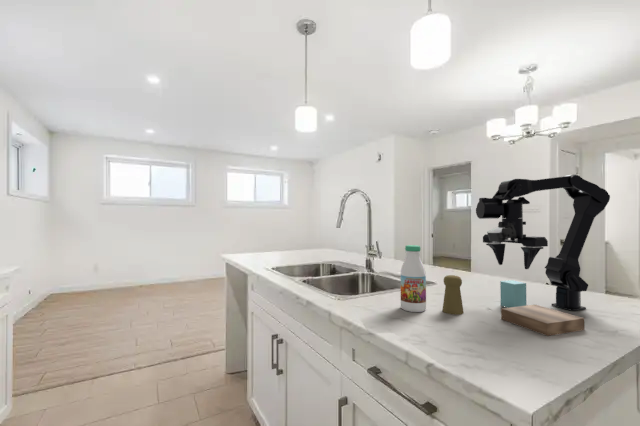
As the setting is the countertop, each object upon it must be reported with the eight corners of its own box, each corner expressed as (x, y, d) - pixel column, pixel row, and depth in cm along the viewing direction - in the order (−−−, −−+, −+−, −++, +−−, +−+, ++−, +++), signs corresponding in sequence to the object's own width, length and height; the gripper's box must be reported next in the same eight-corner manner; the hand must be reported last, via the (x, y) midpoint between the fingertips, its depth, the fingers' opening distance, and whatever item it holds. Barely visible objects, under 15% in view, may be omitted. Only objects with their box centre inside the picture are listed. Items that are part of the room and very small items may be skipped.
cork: (466, 315, 90) (465, 277, 91) (444, 314, 92) (444, 277, 92) (460, 309, 96) (460, 274, 96) (440, 308, 98) (440, 273, 98)
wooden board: (535, 314, 91) (535, 304, 91) (584, 330, 78) (584, 318, 78) (501, 319, 87) (501, 308, 87) (547, 336, 74) (547, 323, 75)
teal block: (512, 304, 102) (512, 280, 102) (526, 308, 97) (526, 283, 97) (500, 305, 100) (500, 281, 100) (514, 309, 96) (514, 284, 96)
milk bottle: (397, 305, 100) (396, 244, 100) (420, 305, 101) (419, 244, 101) (405, 313, 92) (405, 246, 93) (430, 312, 93) (430, 246, 93)
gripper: (469, 218, 105) (470, 264, 105) (520, 218, 87) (521, 273, 87) (494, 218, 109) (495, 262, 108) (548, 218, 91) (549, 271, 91)
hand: (513, 266), depth 99 cm, fingers open, 9 cm apart
